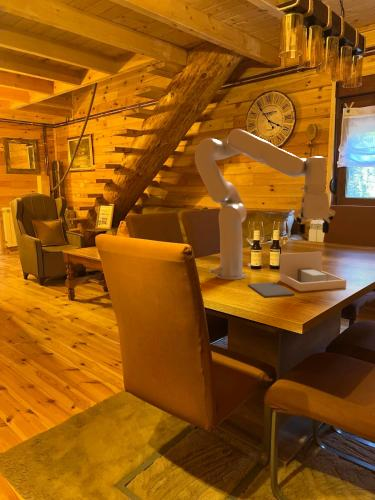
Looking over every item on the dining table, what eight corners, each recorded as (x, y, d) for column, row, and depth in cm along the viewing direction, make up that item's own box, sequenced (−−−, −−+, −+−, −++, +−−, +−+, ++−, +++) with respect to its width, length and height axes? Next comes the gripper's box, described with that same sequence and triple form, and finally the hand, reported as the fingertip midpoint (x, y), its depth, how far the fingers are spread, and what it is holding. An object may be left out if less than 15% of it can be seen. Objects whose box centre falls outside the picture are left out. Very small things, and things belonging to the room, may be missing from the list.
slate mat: (265, 297, 130) (265, 295, 130) (248, 285, 146) (248, 284, 146) (294, 295, 132) (294, 293, 132) (274, 283, 149) (274, 282, 148)
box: (312, 288, 140) (313, 275, 140) (297, 280, 152) (297, 268, 151) (325, 287, 141) (326, 274, 141) (309, 279, 153) (310, 268, 152)
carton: (300, 291, 136) (301, 262, 135) (279, 280, 153) (280, 254, 152) (346, 287, 140) (347, 259, 138) (320, 277, 157) (321, 251, 155)
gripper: (298, 190, 139) (297, 235, 142) (340, 188, 142) (339, 233, 145) (289, 190, 147) (289, 233, 149) (330, 189, 149) (329, 231, 152)
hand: (313, 233), depth 147 cm, fingers open, 9 cm apart
